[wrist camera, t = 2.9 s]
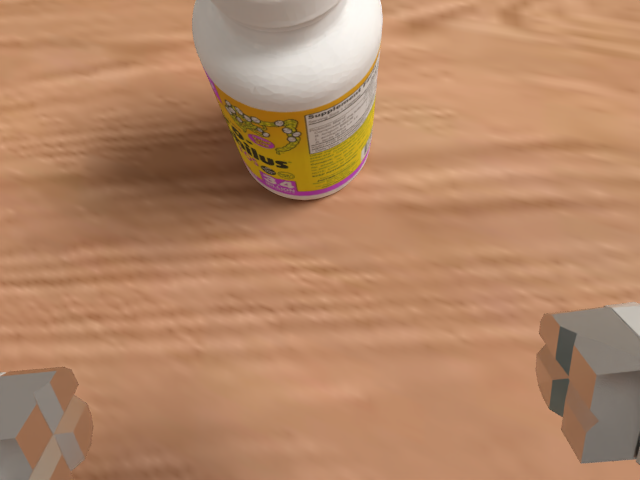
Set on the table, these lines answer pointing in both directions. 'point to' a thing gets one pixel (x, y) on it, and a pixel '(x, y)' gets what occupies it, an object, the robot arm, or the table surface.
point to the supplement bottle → (294, 86)
